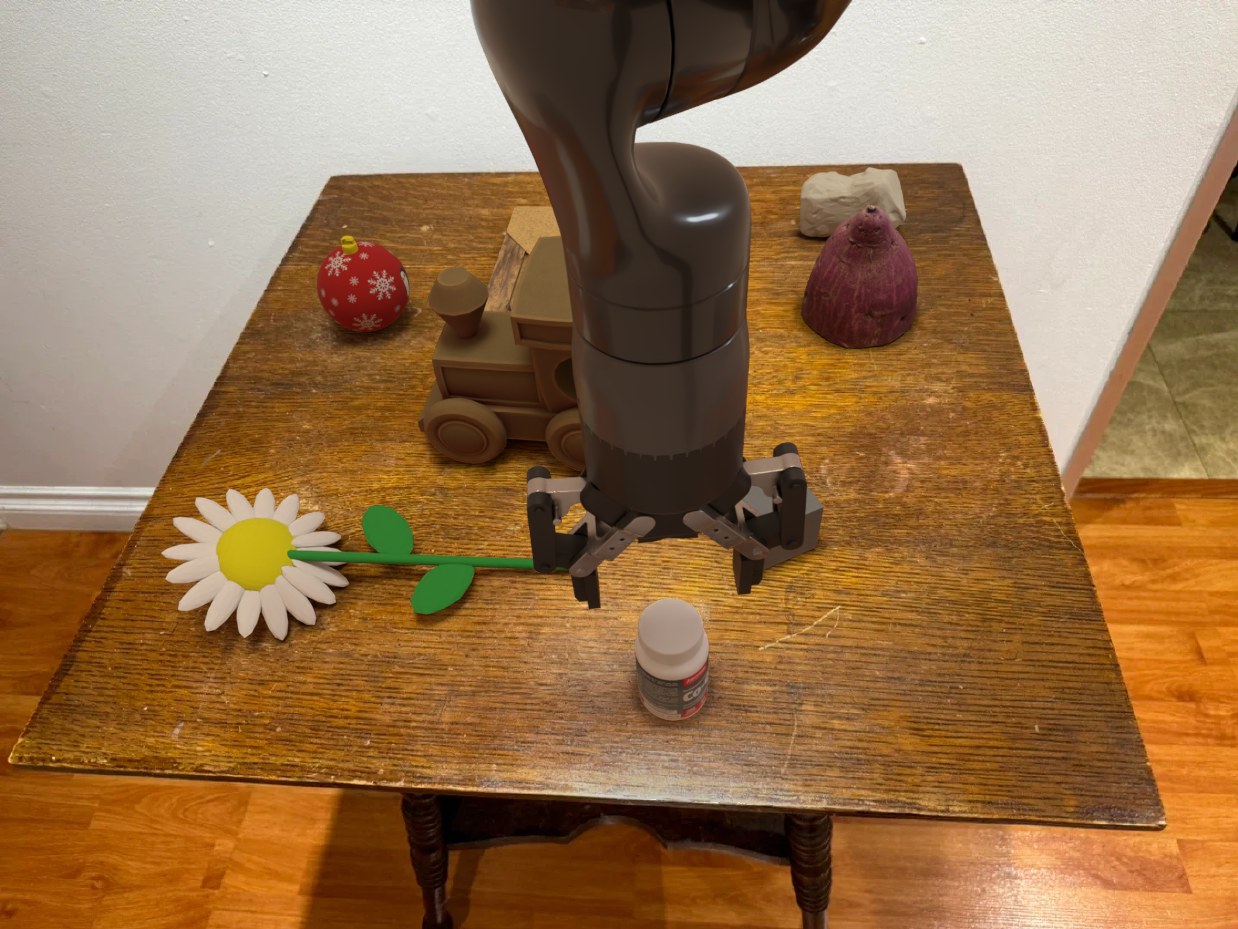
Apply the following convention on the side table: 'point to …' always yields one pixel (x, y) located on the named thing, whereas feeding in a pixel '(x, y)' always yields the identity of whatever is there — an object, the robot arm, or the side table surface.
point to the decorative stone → (848, 199)
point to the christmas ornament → (362, 285)
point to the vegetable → (862, 283)
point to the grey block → (810, 531)
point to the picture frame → (518, 252)
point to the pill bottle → (672, 659)
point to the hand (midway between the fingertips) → (668, 588)
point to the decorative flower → (298, 561)
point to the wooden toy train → (505, 364)
